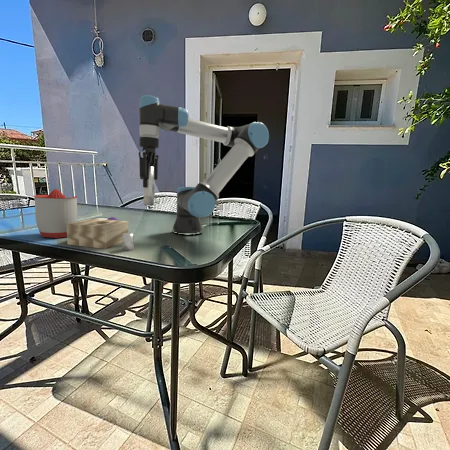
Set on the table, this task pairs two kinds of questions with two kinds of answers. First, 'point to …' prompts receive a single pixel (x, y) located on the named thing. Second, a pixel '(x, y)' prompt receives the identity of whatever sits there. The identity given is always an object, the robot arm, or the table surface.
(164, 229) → the table surface
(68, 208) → the citrus juicer
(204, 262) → the table surface
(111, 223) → the hole block
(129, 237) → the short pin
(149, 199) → the long pin
